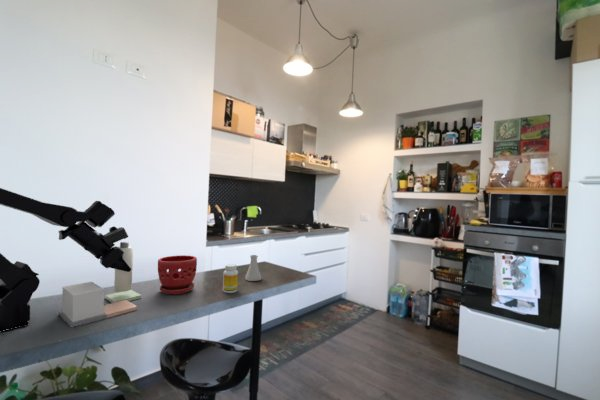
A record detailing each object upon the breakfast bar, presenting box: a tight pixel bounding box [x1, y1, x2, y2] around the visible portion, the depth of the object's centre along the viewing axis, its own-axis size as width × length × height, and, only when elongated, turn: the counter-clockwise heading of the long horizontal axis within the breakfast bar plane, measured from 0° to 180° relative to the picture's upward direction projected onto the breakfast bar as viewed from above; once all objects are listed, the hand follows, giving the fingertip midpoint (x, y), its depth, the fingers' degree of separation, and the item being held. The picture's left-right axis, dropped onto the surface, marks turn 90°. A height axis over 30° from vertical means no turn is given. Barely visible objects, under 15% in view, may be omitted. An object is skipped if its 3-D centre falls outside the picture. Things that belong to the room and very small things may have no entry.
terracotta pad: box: [104, 300, 138, 319], centre depth 87 cm, size 8×8×1 cm
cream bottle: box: [113, 241, 134, 293], centre depth 96 cm, size 5×5×16 cm
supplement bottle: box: [222, 263, 239, 294], centre depth 107 cm, size 5×5×10 cm
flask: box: [244, 254, 262, 282], centre depth 123 cm, size 7×7×10 cm
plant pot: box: [157, 255, 198, 295], centre depth 106 cm, size 13×13×12 cm
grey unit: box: [58, 281, 108, 328], centre depth 82 cm, size 8×12×8 cm, turn 52°
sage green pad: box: [104, 289, 142, 304], centre depth 96 cm, size 8×8×1 cm
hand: (128, 269), depth 97 cm, fingers closed on cream bottle, 5 cm apart
